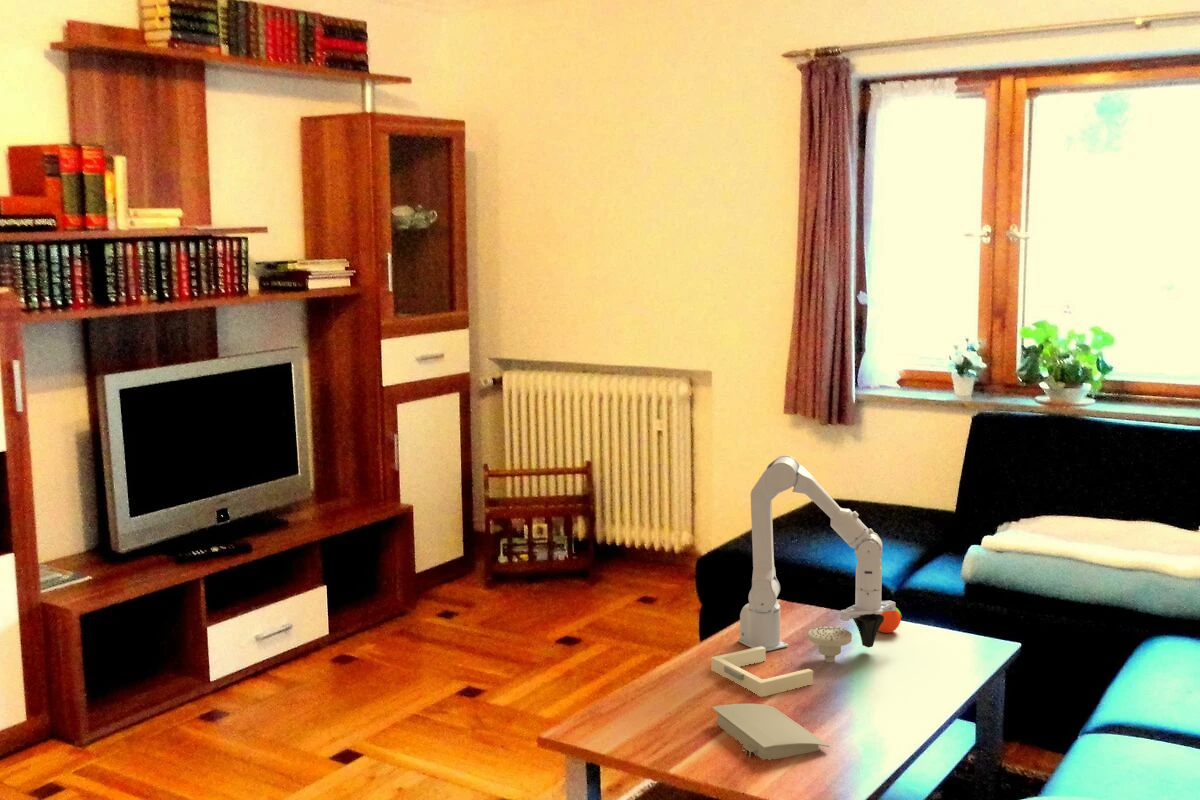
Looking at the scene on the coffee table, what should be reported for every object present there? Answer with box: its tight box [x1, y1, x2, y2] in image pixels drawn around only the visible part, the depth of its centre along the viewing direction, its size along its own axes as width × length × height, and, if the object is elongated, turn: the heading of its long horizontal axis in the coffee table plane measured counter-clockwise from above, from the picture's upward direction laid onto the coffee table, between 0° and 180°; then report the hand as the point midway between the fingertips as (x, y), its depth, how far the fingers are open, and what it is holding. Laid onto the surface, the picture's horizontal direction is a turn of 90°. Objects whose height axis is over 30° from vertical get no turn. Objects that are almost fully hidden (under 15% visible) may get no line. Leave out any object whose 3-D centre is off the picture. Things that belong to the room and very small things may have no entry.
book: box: [711, 703, 830, 761], centre depth 231 cm, size 15×23×4 cm, turn 22°
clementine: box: [877, 606, 903, 634], centre depth 289 cm, size 8×7×7 cm
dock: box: [710, 646, 814, 698], centre depth 262 cm, size 18×14×3 cm
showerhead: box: [807, 625, 853, 663], centre depth 271 cm, size 9×7×10 cm
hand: (867, 645), depth 276 cm, fingers closed
